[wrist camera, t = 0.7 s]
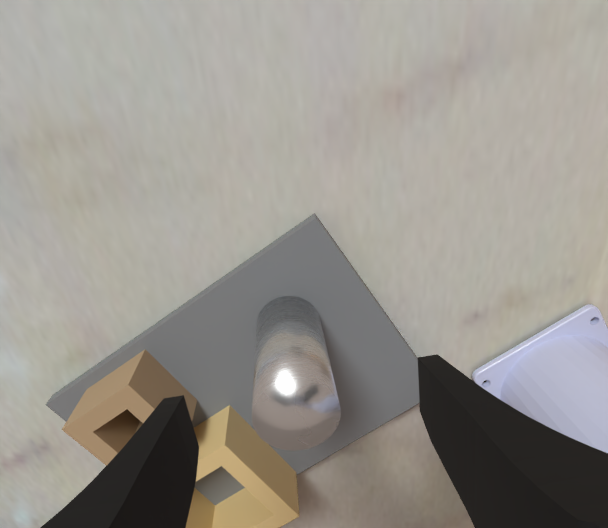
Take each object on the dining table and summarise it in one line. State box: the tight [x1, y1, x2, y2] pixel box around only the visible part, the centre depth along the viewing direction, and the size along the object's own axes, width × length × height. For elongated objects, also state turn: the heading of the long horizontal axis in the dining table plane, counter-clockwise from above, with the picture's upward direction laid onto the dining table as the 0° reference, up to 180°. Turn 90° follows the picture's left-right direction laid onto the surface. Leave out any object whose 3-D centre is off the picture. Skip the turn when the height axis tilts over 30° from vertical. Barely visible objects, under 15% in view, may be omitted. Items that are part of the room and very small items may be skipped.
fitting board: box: [46, 213, 420, 528], centre depth 23 cm, size 13×18×4 cm
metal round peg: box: [252, 296, 341, 451], centre depth 20 cm, size 3×3×7 cm
